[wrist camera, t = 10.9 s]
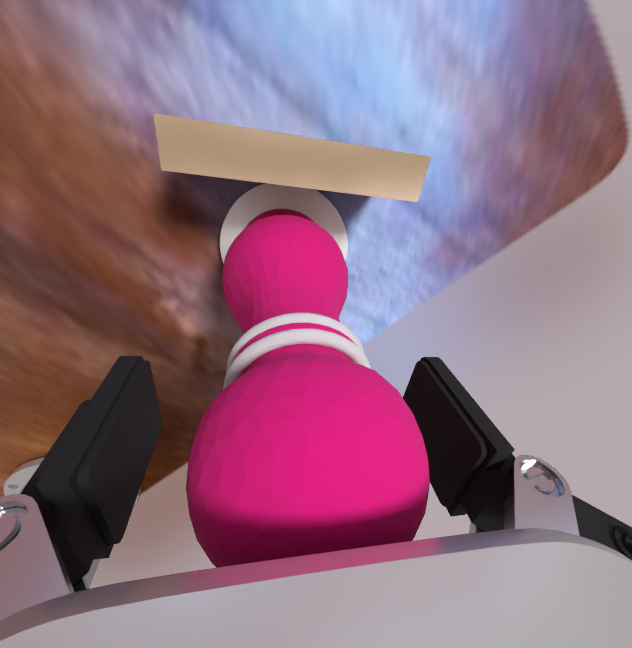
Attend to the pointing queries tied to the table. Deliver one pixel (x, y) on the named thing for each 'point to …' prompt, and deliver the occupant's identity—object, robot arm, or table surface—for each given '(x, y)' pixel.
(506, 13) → the table surface
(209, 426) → the pepper mill
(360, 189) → the oak rail
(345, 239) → the coaster
